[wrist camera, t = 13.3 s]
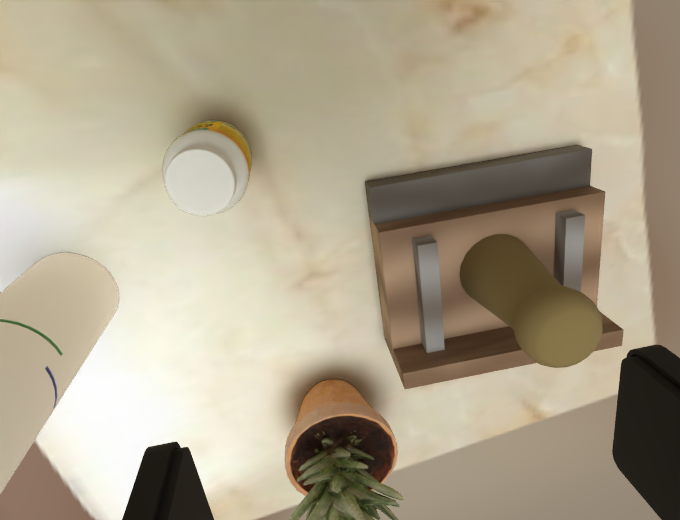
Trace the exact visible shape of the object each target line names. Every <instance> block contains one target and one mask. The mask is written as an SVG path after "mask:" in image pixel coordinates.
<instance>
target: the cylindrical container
mask: <svg viewBox="0 0 680 520" xmlns="http://www.w3.org/2000/svg"><path fill="white" fill-rule="evenodd" d="M118 303H119V292H118V287H117V285H116V282H115V280H114V279H113V277H112V276H111V274H110V273H109V272H108V271H107V270H106V269H105V268H104V267H103V266H102V265H101V264H99V263H98V262H96V261H95V260H93V259H90V258H88V257H86V256H83V255H79V254H74V253H57V254H53V255H49V256H47V257H45V258H42V259H41V260H40V261H38V262H37V263H35V264H34V265H33V266H32V267H31V268H29V269H28V270H27V271H26V272H25V273H24V274H22V275H21V276H20V277H19V278H18V279H16V280H15V281H14V282H13V283H12V284H11V285H9V286H8V287H7V288H6V289H5V290H3V291H2V292H1V293H0V494H1V492H2V491H3V489H4V487H5V486H6V484H7V483H8V481H9V480H10V478H11V477H12V475H13V473H14V472H15V470H16V468H17V467H18V466H19V464H20V462H21V461H22V459H23V458H24V456H25V454H26V453H27V451H28V450H29V448H30V446H31V445H32V443H33V442H34V440H35V439H36V437H37V436H38V434H39V432H40V431H41V429H42V428H43V426H44V424H45V423H46V421H47V420H48V418H49V416H50V415H51V413H52V412H53V410H54V409H55V407H56V405H57V404H58V402H59V401H60V399H61V398H62V396H63V394H64V393H65V391H66V390H67V388H68V386H69V385H70V383H71V382H72V380H73V379H74V377H75V375H76V374H77V372H78V371H79V369H80V367H81V366H82V364H83V363H84V361H85V360H86V358H87V356H88V355H89V353H90V352H91V350H92V348H93V347H94V345H95V344H96V342H97V341H98V339H99V337H100V336H101V334H102V333H103V331H104V330H105V328H106V326H107V325H108V323H109V322H110V320H111V318H112V317H113V315H114V313H115V312H116V310H117V307H118Z"/></svg>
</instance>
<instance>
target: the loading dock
mask: <svg viewBox="0 0 680 520" xmlns="http://www.w3.org/2000/svg"><path fill="white" fill-rule="evenodd" d="M591 158H592V149H590V148H587V147H583V146H579V145H575V146H569V147H563V148H557V149H552V150H546V151H540V152H534V153H529V154H523V155H517V156H511V157H506V158H500V159H494V160H488V161H483V162H477V163H471V164H465V165H460V166H454V167H448V168H442V169H437V170H431V171H425V172H419V173H413V174H408V175H402V176H396V177H390V178H385V179H379V180H373V181H367V182H365V185H366V193H367V201H368V209H369V217H370V225H371V233H372V241H373V249H374V257H375V265H376V273H377V281H378V289H379V297H380V305H381V313H382V321H383V328H384V336H385V341H386V343H387V346H388V348H389V351H390V353H391V356H392V358H393V361H394V363H395V366H396V368H397V371H398V373H399V376H400V378H401V381H402V383H403V386H404V388H405V389H408V388H413V387H418V386H423V385H428V384H433V383H438V382H443V381H448V380H453V379H458V378H463V377H468V376H473V375H478V374H483V373H488V372H493V371H498V370H503V369H508V368H513V367H518V366H523V365H528V364H533V363H537V362H536V361H534V360H533V359H531V358H530V357H528V356H527V355H526V354H525V353H524V351H523V350H522V349H521V347H520V345H519V344H518V342H517V340H516V337H515V333H514V329H512V328H511V327H510V326H508V325H507V324H506V323H504V322H503V321H502V320H500V319H499V318H498V317H497V316H495V315H494V314H493V313H491V312H490V311H489V310H487V309H486V308H485V307H483V306H482V305H481V304H480V303H478V302H477V301H476V300H474V299H473V298H472V297H470V296H469V295H468V294H467V293H466V292H465V290H464V289H463V287H462V285H461V281H460V276H459V275H460V267H461V263H462V261H463V259H464V257H465V254H466V253H467V252H468V251H469V250H470V248H471V247H472V246H473V245H474V244H476V243H477V242H479V241H480V240H482V239H483V238H485V237H488V236H491V235H494V234H509V235H512V236H515V237H517V238H519V239H520V240H521V241H522V242H524V243H525V244H526V245H527V246H528V248H529V249H530V250H531V251H532V252H533V253H534V254H535V256H536V257H537V258H538V259H539V260H540V261H541V263H542V264H543V265H544V266H545V267H546V268H547V270H548V271H549V272H550V273H551V274H552V275H553V276H554V278H555V279H556V280H557V281H558V282H559V283H560V285H561V286H565V287H569V288H572V289H575V290H578V291H580V292H582V293H583V294H584V295H586V296H587V297H588V298H589V299H591V300H592V301H593V302H594V303H595V305H596V306H597V296H598V283H599V269H600V255H601V242H602V228H603V215H604V201H605V191H602V190H599V189H597V188H594V187H592V186H590V175H591ZM599 312H600V311H599ZM600 314H601V316H602V328H603V332H602V336H601V340H600V342H599V343H598V345H597V347H596V348H595V350H594V351H597V350H602V349H607V348H612V347H617V346H622V338H623V329H622V328H620V327H619V326H618V325H616V324H615V323H614V322H613V321H611V320H610V319H609V318H607V317H606V316H605V315H603V314H602V313H601V312H600Z"/></svg>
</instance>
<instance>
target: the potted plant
mask: <svg viewBox="0 0 680 520" xmlns="http://www.w3.org/2000/svg"><path fill="white" fill-rule="evenodd" d="M397 454H398V453H397V443H396V440H395V437H394V434H393V432H392V430H391V428H390V426H389V424H388V423H387V421H386V420H385V419H384V418H383V417H382V416H381V415H380V414H379V413H377V412H376V411H375V410H373V409H372V408H371V407H370V406H369V405H368V403H367V402H366V401H365V400H364V399H363V397H362V396H361V395H360V393H359V392H358V391H357V389H356V388H354V387H353V386H352V385H351V384H349V383H347V382H346V381H343V380H339V379H328V380H325V381H321V382H319V383H318V384H316V385H314V386H313V388H312V389H311V390H310V391H309V392H308V393H307V394H306V395H305V397H304V399H303V402H302V405H301V408H300V411H299V414H298V417H297V420H296V423H295V426H294V427H293V428H292V430H291V432H290V434H289V436H288V438H287V442H286V445H285V468H286V472H287V476H288V478H289V480H290V482H291V483H292V485H293V486H294V487H295V488H296V490H297V491H299V492H300V493H302V494H303V495H305V496H306V497H305V498H304V499H303V500H302V502H301V503H300V504H299V506H298V507H297V508H296V510H295V512H294V513H293V514H292V516H291V519H290V520H298V519H299V518H300V517H301V516H302V515H303V514H304V513H305V511H306V510H308V511H307V515H306V520H374V519H373V518H372V517H374V518H376V519H378V520H379V519H380V517H379V515H378V513H377V511H376V509H379V510H381V511H382V512H383V513H385V514H386V515H387V516H388V517H389V518H391V519H392V520H398V519H397V517H396V516H395V515H394V514H393V513H392V512H391V510H390V509H389V508H388V507H387V506H386V505H391V506H397V507H399V504H398V503H397V502H396V501H395V500H393V499H390V498H388V497H385V496H383V495H380V494H377V493H375V492H373V491H374V490H376V491H378V492H380V493H382V494H384V495H387V496H389V497H392V498H396V499H399V500H403V497H402V495H401V494H400V493H399V492H397V491H395V490H394V489H392V488H390V487H388V486H386V485H383V482H384V481H385V480H386V479H387V478H388V477H389V475H390V474H391V472H392V470H393V468H394V467H395V465H396V460H397ZM317 503H318V504H317Z"/></svg>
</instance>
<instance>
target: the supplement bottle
mask: <svg viewBox="0 0 680 520" xmlns="http://www.w3.org/2000/svg"><path fill="white" fill-rule="evenodd" d="M251 162H252V154H251V149H250V146H249V143H248V141H247V139H246V138H245V136H244V135H243V134H242V133H241V132H240V131H239V130H238V129H237V128H236V127H234V126H233V125H231V124H228V123H226V122H222V121H215V120H210V121H204V122H201V123H198V124H196V125H195V126H193V127H192V128H190V129H189V130H188V131H187V132H185V133H184V134H182V135H181V136H180V137H178V138H177V139H176V140H175V141H174V142H173V143H172V144H171V146H170V147H169V148H168V150H167V152H166V154H165V157H164V160H163V166H162V174H163V180H164V183H165V187H166V191H167V193H168V195H169V197H170V199H171V200H172V201H173V203H174V204H175V205H176V206H177V207H178V208H180V209H181V210H183V211H185V212H187V213H189V214H192V215H196V216H208V215H212V214H217V213H221V212H224V211H226V210H228V209H230V208H231V207H233V206H234V205H235V204H236V203H237V202H238V201H239V200H240V199H241V198H242V196H243V194H244V193H245V190H246V188H247V184H248V181H249V174H250V169H251Z"/></svg>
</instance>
